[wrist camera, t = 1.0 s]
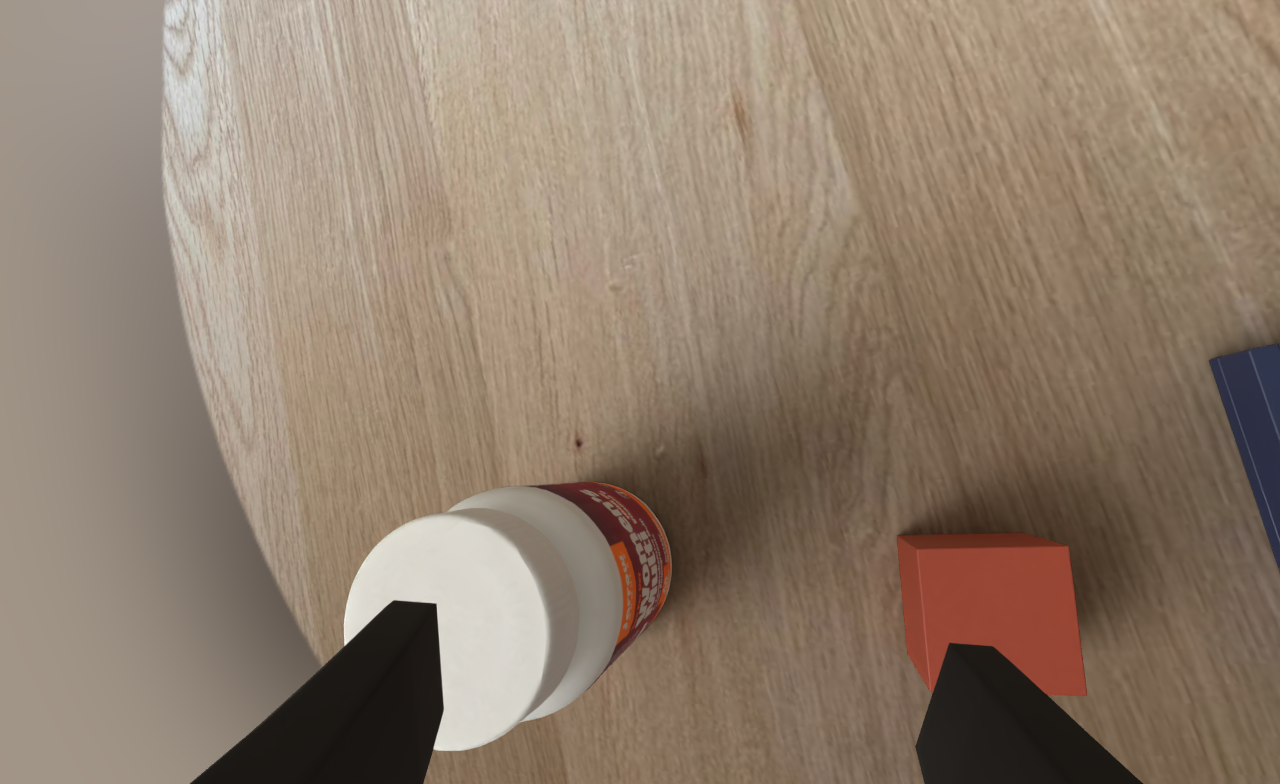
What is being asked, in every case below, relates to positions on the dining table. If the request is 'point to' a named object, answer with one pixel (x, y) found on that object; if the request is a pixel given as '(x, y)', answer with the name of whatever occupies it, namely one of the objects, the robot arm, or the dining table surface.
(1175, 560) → the dining table surface
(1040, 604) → the block
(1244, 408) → the tray
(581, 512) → the pill bottle
